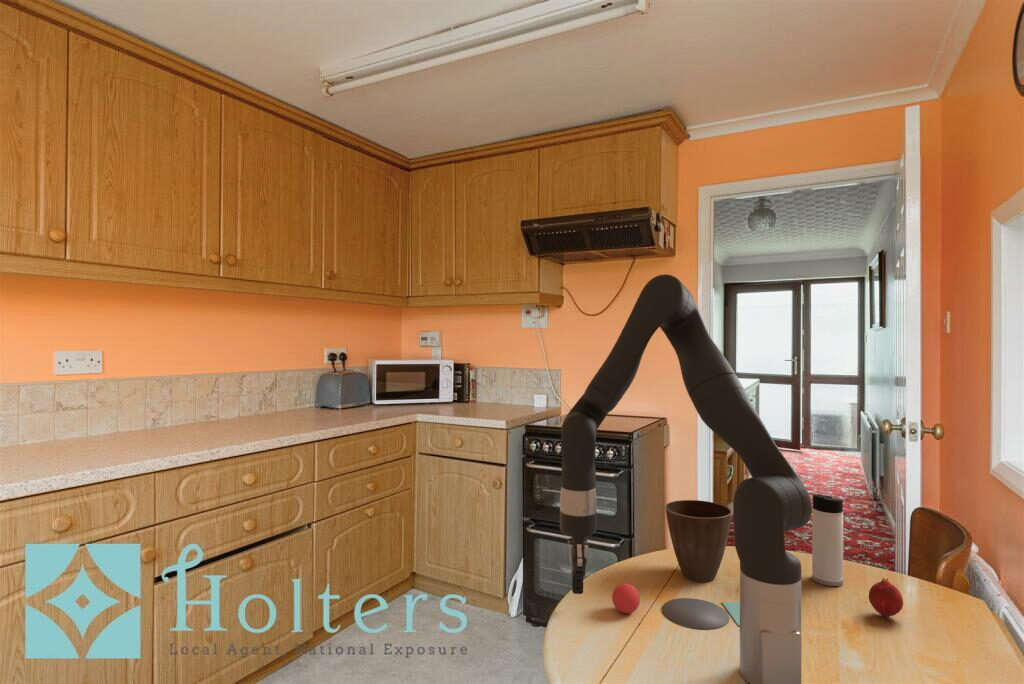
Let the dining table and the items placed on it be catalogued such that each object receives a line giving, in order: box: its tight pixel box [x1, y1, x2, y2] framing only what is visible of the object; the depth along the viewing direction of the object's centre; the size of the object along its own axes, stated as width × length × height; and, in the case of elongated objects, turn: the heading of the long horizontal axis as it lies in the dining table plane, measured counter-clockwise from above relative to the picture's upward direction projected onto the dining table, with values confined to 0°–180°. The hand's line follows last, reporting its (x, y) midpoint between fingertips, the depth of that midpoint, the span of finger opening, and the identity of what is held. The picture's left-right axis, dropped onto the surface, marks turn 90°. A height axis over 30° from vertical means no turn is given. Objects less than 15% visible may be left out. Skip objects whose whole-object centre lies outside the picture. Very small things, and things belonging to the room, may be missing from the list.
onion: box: [868, 576, 904, 618], centre depth 115 cm, size 6×6×8 cm
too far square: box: [721, 601, 740, 627], centre depth 116 cm, size 10×10×1 cm
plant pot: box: [664, 499, 733, 583], centre depth 135 cm, size 15×15×16 cm
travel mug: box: [811, 493, 844, 587], centre depth 132 cm, size 6×7×20 cm
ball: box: [611, 583, 641, 614], centre depth 117 cm, size 6×6×6 cm
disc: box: [661, 597, 730, 630], centre depth 116 cm, size 13×13×1 cm
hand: (577, 592), depth 118 cm, fingers closed
